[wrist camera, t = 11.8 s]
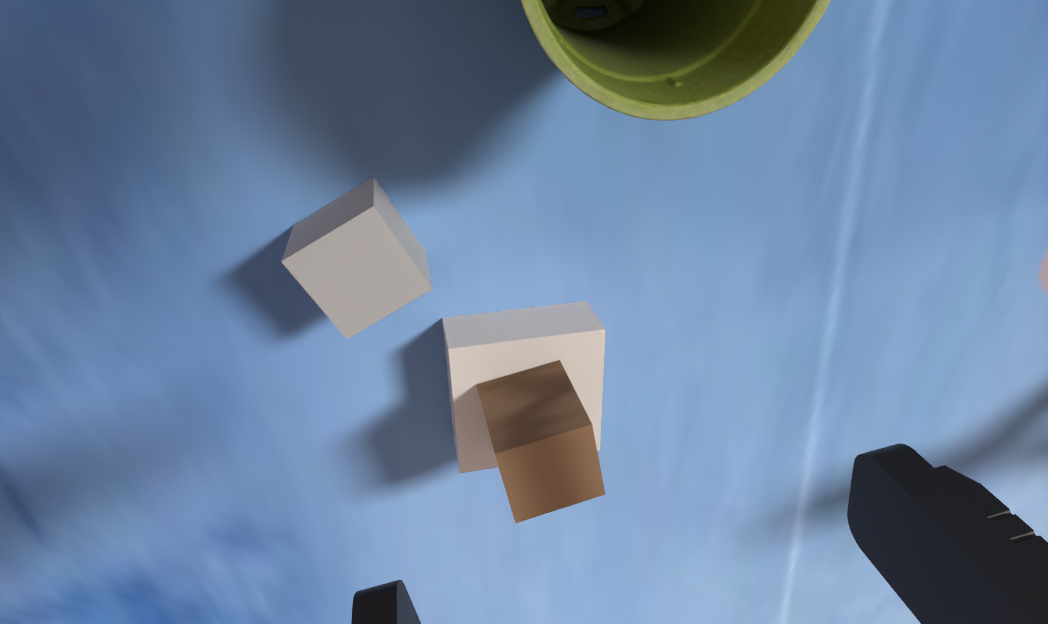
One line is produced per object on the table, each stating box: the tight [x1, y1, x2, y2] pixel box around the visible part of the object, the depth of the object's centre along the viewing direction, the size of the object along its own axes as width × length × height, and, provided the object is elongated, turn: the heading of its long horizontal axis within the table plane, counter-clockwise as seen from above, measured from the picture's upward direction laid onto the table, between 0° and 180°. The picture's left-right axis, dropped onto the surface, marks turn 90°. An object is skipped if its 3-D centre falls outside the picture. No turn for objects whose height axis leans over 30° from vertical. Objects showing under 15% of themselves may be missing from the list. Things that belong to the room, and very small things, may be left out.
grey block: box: [281, 177, 432, 339], centre depth 32 cm, size 5×5×5 cm
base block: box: [442, 301, 605, 473], centre depth 39 cm, size 9×9×4 cm
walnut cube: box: [476, 360, 605, 523], centre depth 34 cm, size 5×5×6 cm
